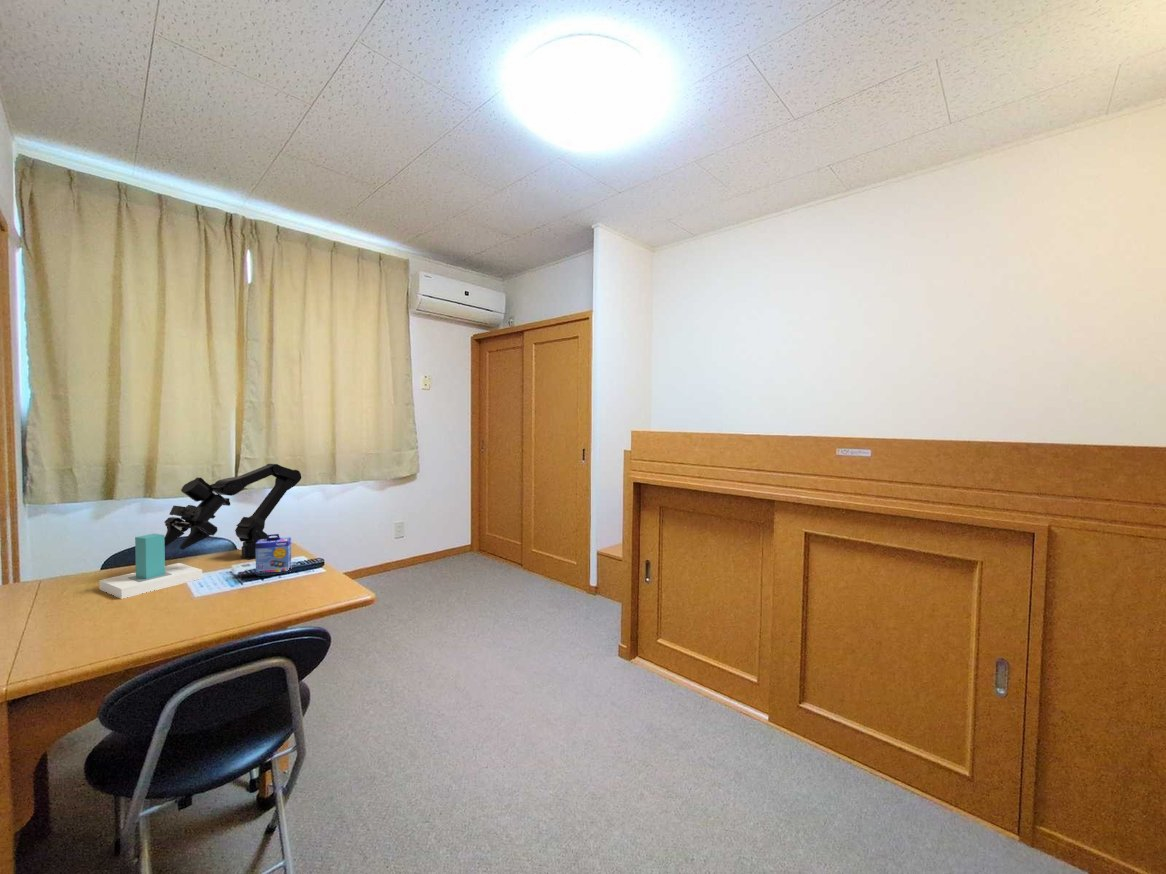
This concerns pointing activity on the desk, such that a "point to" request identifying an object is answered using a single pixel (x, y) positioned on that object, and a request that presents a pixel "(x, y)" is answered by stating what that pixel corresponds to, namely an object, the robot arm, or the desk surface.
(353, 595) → the desk surface
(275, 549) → the ink cartridge box
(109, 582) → the base plate
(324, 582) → the desk surface
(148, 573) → the teal block
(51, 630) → the desk surface
